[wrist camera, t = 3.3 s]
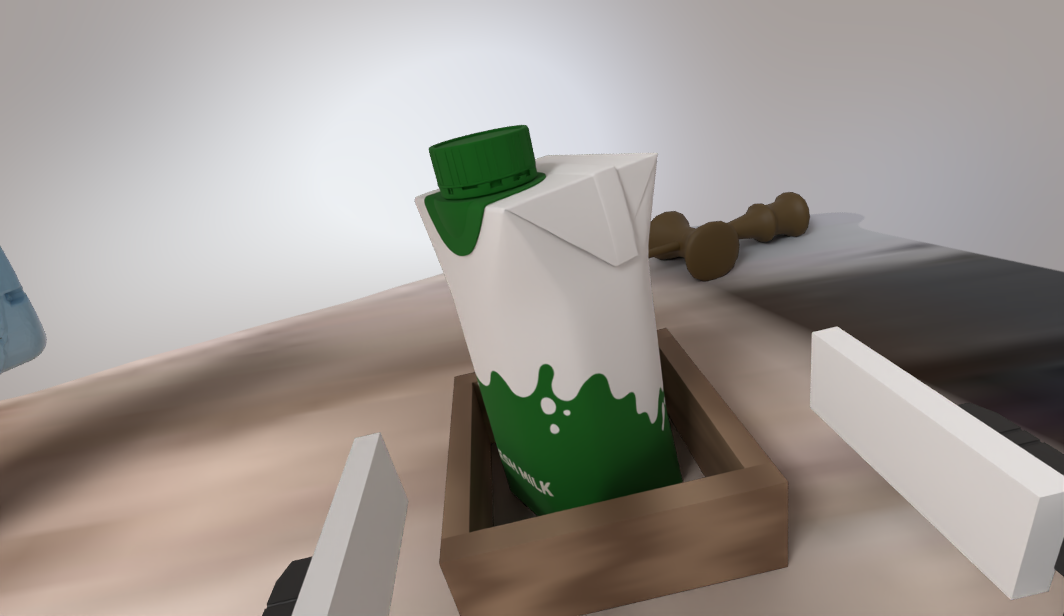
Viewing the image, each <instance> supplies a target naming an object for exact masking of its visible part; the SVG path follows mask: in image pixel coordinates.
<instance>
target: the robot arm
mask: <svg viewBox="0 0 1064 616" xmlns="http://www.w3.org/2000/svg"><path fill="white" fill-rule="evenodd" d="M46 340H47V339H46V334H45V331H44V329H43V327H42V324H41V322H40V320H39V318H38V316H37V314H36V312H35V310H34V308H33V306H32V304H31V302H30V300H29V299H28V297H27V295H26V293H24V291H23V288H22V286H21V284H20V282H19V280H18V278H17V275H16V274H15V271H14V270H13V268H12V266H11V264H10V262H9V260H8V259H7V257H6V255H5V253H4V251H3V250H2V248H1V246H0V374H1V373H3V372H6V371H8V370H10V369H13V368H15V367H17V366H19V365H22V364H24V363H26V362H29V361H31V360H33V359H35V358H36V357H37V356H39V355H40V354H41V353H42V351H43V350H44V348H45V346H46ZM810 408H811V409H812V410H813V411H814V412H815V413H816V414H817V415H818V416H819V417H820V418H821V419H822V420H823V421H824V422H825V423H827V424H828V425H829V426H830V427H831V428H832V429H833V430H834V431H835V432H836V433H837V434H838V435H839V436H840V437H841V438H842V439H843V440H844V441H845V442H846V443H847V444H848V445H850V446H851V447H852V448H853V449H854V450H855V451H856V452H857V453H858V454H859V455H860V456H861V457H862V458H863V459H864V460H865V461H866V462H867V463H868V464H869V465H870V466H871V467H873V468H874V469H875V470H876V471H877V472H878V473H879V474H880V475H881V476H882V477H883V478H884V479H885V480H886V481H887V482H888V483H889V484H890V485H891V486H892V487H893V488H894V489H896V490H897V491H898V492H899V493H900V494H901V495H902V496H903V497H904V498H905V499H906V500H907V501H908V502H909V503H910V504H911V505H912V506H913V507H914V508H915V509H916V510H917V511H919V512H920V513H921V514H922V515H923V516H924V517H925V518H926V519H927V520H928V521H929V522H930V523H931V524H932V525H933V526H934V527H935V528H936V529H937V530H938V531H939V532H940V533H941V534H943V535H944V536H945V537H946V538H947V539H948V540H949V541H950V542H951V543H952V544H953V545H954V546H955V547H956V548H957V549H958V550H959V551H960V552H961V553H962V554H963V555H964V556H966V557H967V558H968V559H969V560H970V561H971V562H972V563H973V564H974V565H975V566H976V567H977V568H978V569H979V570H980V571H981V572H982V573H983V574H984V575H985V576H986V577H987V578H989V579H990V580H991V581H992V582H993V583H994V584H995V585H996V586H997V587H998V588H999V589H1000V590H1001V591H1002V592H1003V593H1004V594H1005V595H1006V596H1007V597H1008V598H1009V599H1010V600H1014V599H1018V598H1022V597H1026V596H1031V595H1035V594H1039V593H1043V592H1048V591H1049V588H1050V585H1051V582H1052V579H1053V576H1054V572H1055V570H1056V571H1058V572H1059V573H1060V574H1061V575H1062V576H1064V454H1062V453H1061V452H1059V451H1058V450H1056V449H1054V448H1053V447H1051V446H1050V445H1048V444H1046V443H1045V442H1044V443H1041V442H1040V439H1038V438H1037V437H1035V436H1033V435H1032V434H1030V433H1029V432H1027V431H1022V430H1021V427H1019V426H1017V425H1016V424H1014V423H1013V422H1011V421H1009V420H1008V419H1006V418H1004V417H1003V416H1001V415H1000V414H998V413H996V412H993V411H990V410H988V409H985V408H982V407H980V406H977V405H974V404H972V403H965V404H961V405H955V404H954V403H952V402H951V401H949V400H948V399H946V398H945V397H943V396H942V395H940V394H939V393H937V392H936V391H934V390H933V389H931V388H930V387H928V386H927V385H925V384H924V383H922V382H921V381H919V380H917V379H916V378H914V377H913V376H911V375H910V374H908V373H907V372H905V371H904V370H902V369H901V368H899V367H898V366H896V365H895V364H893V363H892V362H890V361H889V360H887V359H886V358H884V357H883V356H881V355H880V354H878V353H876V352H875V351H873V350H872V349H870V348H869V347H867V346H866V345H864V344H863V343H861V342H860V341H858V340H857V339H855V338H854V337H852V336H851V335H849V334H848V333H846V332H845V331H843V330H842V329H840V328H838V327H833V328H829V329H825V330H820V331H816V332H812V354H811V391H810ZM407 506H408V499H407V496H406V494H405V491H404V489H403V487H402V484H401V482H400V479H399V477H398V474H397V472H396V469H395V467H394V465H393V462H392V460H391V457H390V455H389V452H388V450H387V448H386V445H385V443H384V440H383V438H382V435H381V433H380V432H379V433H375V434H370V435H366V436H362V437H357V438H355V439H354V442H353V445H352V448H351V450H350V453H349V456H348V459H347V462H346V464H345V467H344V470H343V473H342V476H341V478H340V481H339V484H338V487H337V490H336V492H335V495H334V498H333V501H332V504H331V506H330V509H329V512H328V515H327V518H326V520H325V523H324V526H323V529H322V532H321V534H320V537H319V540H318V543H317V546H316V548H315V551H314V554H313V557H308V558H304V559H300V560H295V561H292V562H291V563H290V565H289V566H288V567H287V569H286V570H285V571H284V572H283V574H282V575H281V576H280V578H279V579H278V580H277V581H276V583H275V586H274V588H273V590H272V593H271V595H270V598H269V600H268V603H267V609H265V610H264V612H263V615H262V616H389V611H390V606H391V600H392V594H393V588H394V582H395V576H396V571H397V565H398V559H399V553H400V547H401V541H402V536H403V530H404V524H405V518H406V512H407ZM1063 616H1064V614H1063Z"/></svg>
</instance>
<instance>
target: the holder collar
mask: <svg viewBox="0 0 1064 616" xmlns="http://www.w3.org/2000/svg"><path fill="white" fill-rule="evenodd" d="M657 338H658V346H659V355H660V363H661V372H662V380H663V389H664V397H665V404H666V409H667V413H668V415H669V416H670V418H671V420H672V421H673V423H674V425H675V427H676V428H677V430H678V432H679V433H680V435H681V437H682V439H683V440H684V442H685V444H686V445H687V447H688V449H689V450H690V452H691V454H692V456H693V457H694V459H695V461H696V462H697V464H698V466H699V467H700V469H701V471H702V473H703V474H704V476H705V478H701V479H697V480H693V481H688V482H684V483H680V484H675V485H671V486H667V487H662V488H658V489H654V490H650V491H645V492H641V493H637V494H632V495H628V496H624V497H620V498H615V499H611V500H607V501H602V502H598V503H594V504H590V505H585V506H581V507H577V508H572V509H568V510H564V511H560V512H555V513H551V514H547V515H542V516H538V517H534V518H530V519H525V520H521V521H517V522H512V523H508V524H504V525H499V526H495V527H493V500H492V471H491V443H494V442H496V441H495V438H494V434H493V431H492V428H491V424H490V421H489V417H488V414H487V411H486V407H485V404H484V401H483V397H482V394H481V390H480V387H479V384H478V380H477V377H476V373H475V372H473V373H469V374H465V375H460V376H456V377H455V379H454V391H453V403H452V415H451V427H450V439H449V451H448V464H447V476H446V488H445V500H444V512H443V524H442V536H441V548H440V560H439V564H440V567H441V569H442V571H443V574H444V576H445V579H446V581H447V584H448V586H449V589H450V591H451V594H452V596H453V599H454V601H455V604H456V606H457V609H458V611H459V614H460V616H580V615H584V614H588V613H593V612H597V611H601V610H605V609H610V608H614V607H618V606H622V605H627V604H631V603H635V602H639V601H644V600H648V599H652V598H656V597H661V596H665V595H669V594H673V593H678V592H682V591H686V590H691V589H695V588H699V587H703V586H708V585H712V584H716V583H720V582H725V581H729V580H733V579H737V578H742V577H746V576H750V575H754V574H759V573H763V572H767V571H771V570H776V569H780V568H784V567H788V481H787V480H786V479H785V477H784V476H783V475H782V474H781V472H780V471H779V470H778V468H777V467H776V466H775V465H774V463H773V462H772V461H771V460H770V458H769V457H768V456H767V455H766V453H765V452H764V451H763V450H762V448H761V447H760V446H759V444H758V443H757V442H756V441H755V439H754V438H753V437H752V436H751V434H750V433H749V432H748V431H747V429H746V428H745V427H744V426H743V424H742V423H741V422H740V421H739V419H738V418H737V417H736V415H735V414H734V413H733V412H732V410H731V409H730V408H729V407H728V405H727V404H726V403H725V402H724V400H723V399H722V398H721V397H720V395H719V394H718V393H717V391H716V390H715V389H714V388H713V386H712V385H711V384H710V383H709V381H708V380H707V379H706V378H705V376H704V375H703V374H702V373H701V371H700V370H699V369H698V367H697V366H696V365H695V364H694V362H693V361H692V360H691V359H690V357H689V356H688V355H687V354H686V352H685V351H684V350H683V349H682V347H681V346H680V345H679V343H678V342H677V341H676V340H675V338H674V337H673V336H672V335H671V333H670V332H669V331H668V330H667V328H664V329H660V330H657Z"/></svg>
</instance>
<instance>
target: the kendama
mask: <svg viewBox="0 0 1064 616" xmlns="http://www.w3.org/2000/svg"><path fill="white" fill-rule="evenodd" d="M809 219H810V214H809V208H808V206H807V203H806V201H805V200H804V199H803V198H802V197H801V196H800V195H799V194H796V193H793V192H787V193H782V194H781V195H779V196H778V197H777V198H776V200H775V202H774V203H771V204H768V205H764V204H753V205H752V206H750V207H749V208H748V210H747V212H746V214H744V215H743V216H741V217H739V218H737V219H735V220H733V221H730V222H728V223H725V222H722V221H716V222H708V223H706V224H704V225H702V226H700V227H698V228H696V229H695V228H692V227H690V226H689V222H688V221H687V219H686V218H685V216H684V215H683V214H681V213H678V212H676V211H671V212H664V213H662V214H660V215H658V216H656V217H655V218H654V219H653V220H652V221H651V222H650V232H649V243H648V258H651V257H655V258H658V259H661V260H666V259H673V258H676V257H683V258H685V261H686V266H687V269H688V271H689V272H690V274H691V275H692V276H693V277H694V278H696V279H699V280H702V281H709V280H713V279H716V278H719V277H721V276H724V275H726V274H727V273H728V272H729V271H730V270H731V269H732V268H733V267H734V264H735V262H736V260H737V258H738V253H739V240H738V239H752V238H753V239H755V240H757V241H759V242H768V241H770V240H772V239H773V237H774V236H776V235H780V234H784V235H786V236H792V237H798V236H800V235H802V234H804V233H805V231H806V230H807V228H808V225H809Z"/></svg>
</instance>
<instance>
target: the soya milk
mask: <svg viewBox="0 0 1064 616" xmlns="http://www.w3.org/2000/svg"><path fill="white" fill-rule="evenodd" d="M429 153H430V157H431V160H432V164H433V168H434V172H435V175H436V179H437V182H438V187H439V188H440V189H437V190H434V191H431V192H428V193H425V194H422V195H420V196H417V197H416V198H415V203H416V206H417V208H418V210H419V213H420V216H421V218H422V220H423V223H424V225H425V228H426V230H427V233H428V235H429V238H430V240H431V242H432V245H433V247H434V250H435V252H436V255H437V257H438V260H439V262H440V265H441V267H442V270H443V272H444V275H445V278H446V280H447V283H448V285H449V288H450V291H451V294H452V297H453V300H454V303H455V306H456V310H457V313H458V316H459V319H460V323H461V326H462V330H463V333H464V336H465V340H466V343H467V346H468V350H469V353H470V357H471V360H472V363H473V367H474V370H475V373H476V377H477V380H478V384H479V387H480V390H481V394H482V397H483V401H484V404H485V407H486V411H487V414H488V417H489V421H490V424H491V428H492V431H493V434H494V438H495V441H496V445H497V448H498V451H499V455H500V458H501V461H502V464H503V467H504V471H505V474H506V477H507V480H508V484H509V487H510V490H511V492H512V493H513V494H514V495H515V496H517V497H518V498H519V499H520V500H521V501H522V502H523V503H524V504H525V505H526V506H527V507H529V508H530V509H531V510H532V511H533V512H534V513H535V514H536V515H537V516H542V515H547V514H551V513H555V512H560V511H564V510H568V509H572V508H577V507H581V506H585V505H590V504H594V503H598V502H602V501H607V500H611V499H615V498H620V497H624V496H628V495H632V494H637V493H641V492H645V491H650V490H654V489H658V488H662V487H667V486H671V485H675V484H680V483H682V482H683V480H682V476H681V472H680V467H679V463H678V458H677V454H676V449H675V445H674V440H673V436H672V431H671V427H670V423H669V418H668V414H667V409H666V404H665V397H664V389H663V380H662V372H661V363H660V355H659V346H658V338H657V329H656V320H655V312H654V303H653V295H652V286H651V277H650V268H649V258H648V243H649V232H650V222H651V212H652V202H653V192H654V184H655V174H656V164H657V153H633V154H632V153H631V154H589V155H588V154H586V155H548V156H544V157H541V158H537V159H535V157H534V152H533V148H532V143H531V138H530V133H529V128H528V127H527V126H526V125H517V126H509V127H503V128H498V129H493V130H488V131H483V132H479V133H474V134H470V135H466V136H462V137H458V138H454V139H451V140H448V141H445V142H441V143H438V144H436V145H433V146H431V147H430V148H429Z"/></svg>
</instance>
